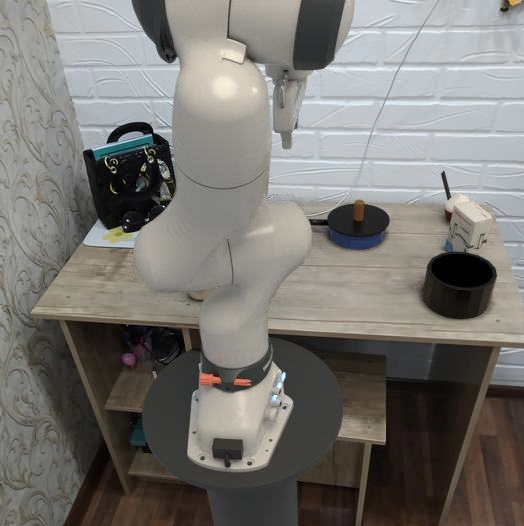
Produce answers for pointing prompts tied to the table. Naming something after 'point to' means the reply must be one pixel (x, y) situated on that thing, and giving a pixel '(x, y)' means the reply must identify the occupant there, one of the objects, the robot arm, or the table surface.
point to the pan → (356, 240)
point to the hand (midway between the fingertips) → (290, 137)
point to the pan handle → (318, 222)
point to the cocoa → (451, 199)
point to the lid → (358, 219)
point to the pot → (459, 284)
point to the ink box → (468, 229)
